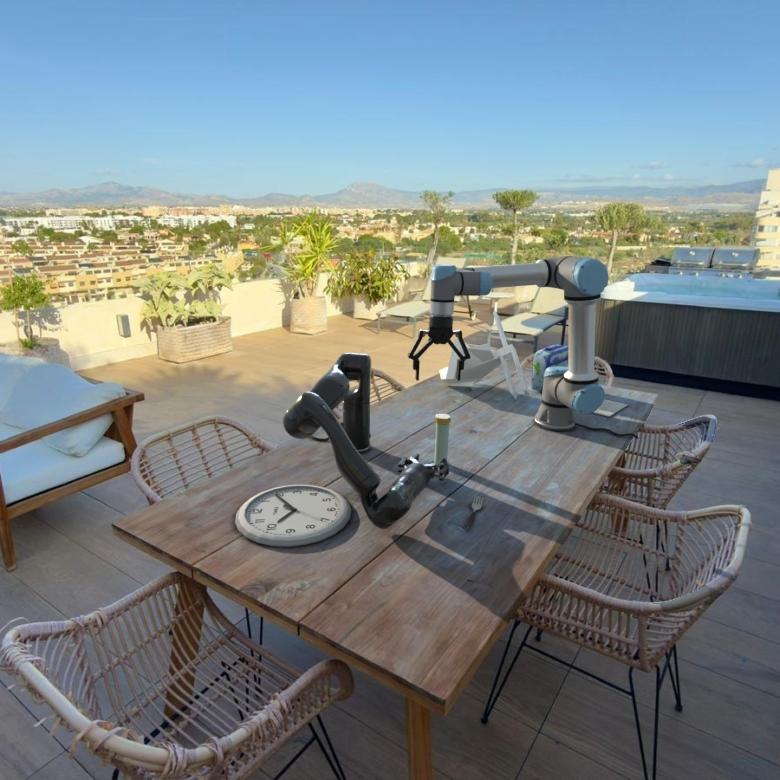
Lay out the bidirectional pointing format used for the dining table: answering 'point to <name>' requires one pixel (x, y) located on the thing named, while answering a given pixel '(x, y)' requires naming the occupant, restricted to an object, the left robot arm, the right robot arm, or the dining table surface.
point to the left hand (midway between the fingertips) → (431, 458)
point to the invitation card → (609, 408)
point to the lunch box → (547, 363)
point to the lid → (443, 419)
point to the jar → (441, 442)
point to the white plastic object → (484, 362)
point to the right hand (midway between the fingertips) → (437, 379)
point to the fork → (475, 507)
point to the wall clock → (293, 515)
